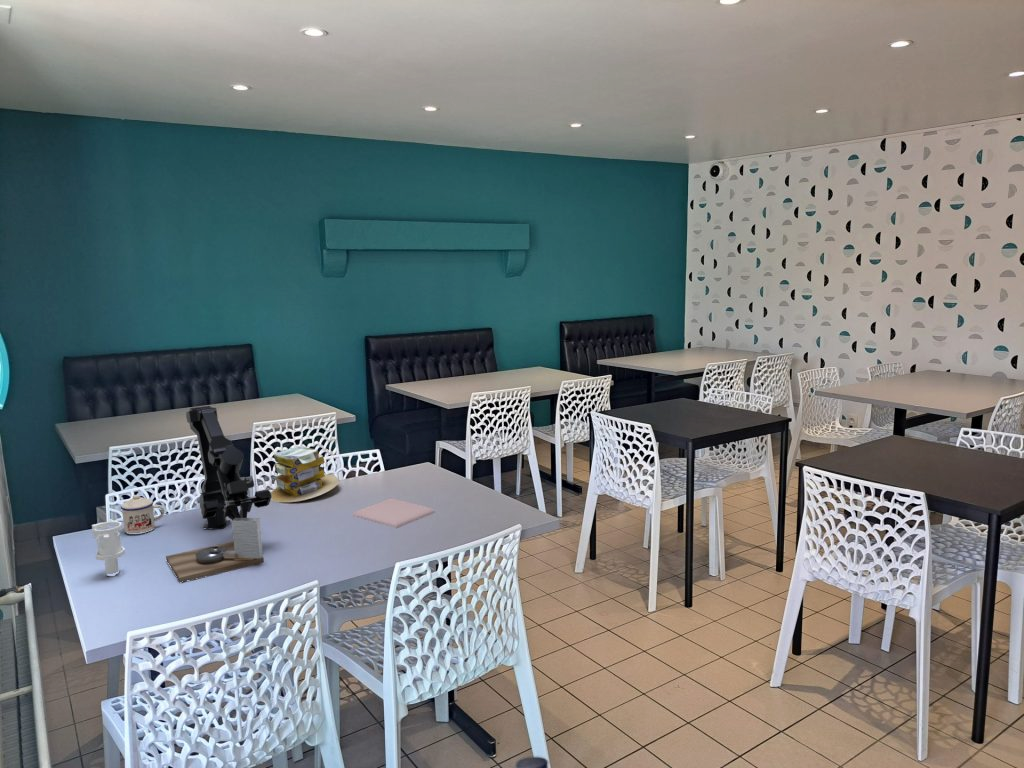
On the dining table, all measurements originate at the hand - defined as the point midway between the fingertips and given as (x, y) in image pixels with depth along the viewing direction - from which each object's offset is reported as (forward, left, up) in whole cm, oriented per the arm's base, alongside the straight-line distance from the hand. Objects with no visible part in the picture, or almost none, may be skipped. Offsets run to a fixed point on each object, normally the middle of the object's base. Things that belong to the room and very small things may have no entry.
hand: (244, 529), depth 209 cm
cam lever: (+4, -3, -7) cm, 8 cm away
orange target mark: (+4, +1, -7) cm, 8 cm away
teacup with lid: (-25, -41, -9) cm, 49 cm away
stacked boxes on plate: (-60, +1, -9) cm, 61 cm away
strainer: (+9, -34, -9) cm, 36 cm away
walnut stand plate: (+2, -8, -9) cm, 12 cm away
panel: (-30, +30, -10) cm, 43 cm away
